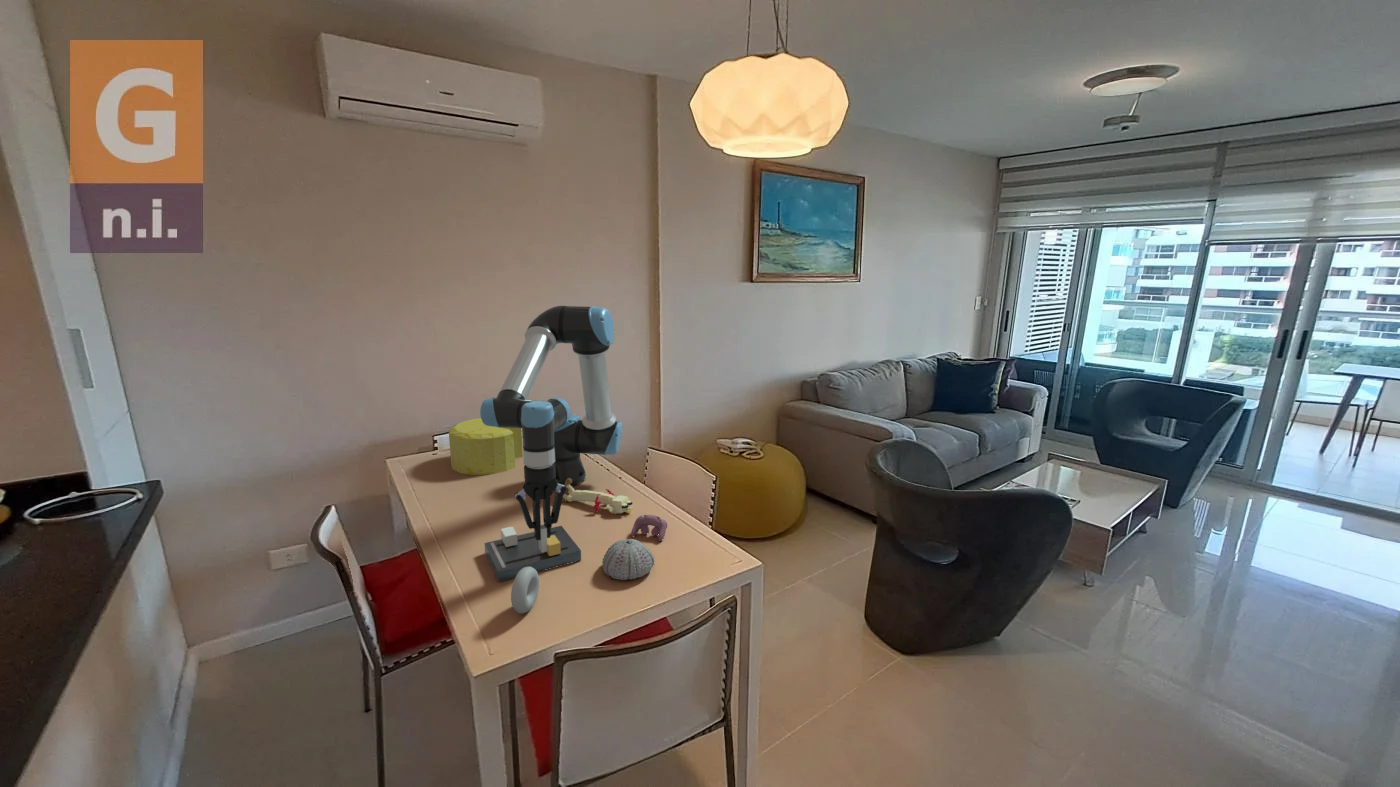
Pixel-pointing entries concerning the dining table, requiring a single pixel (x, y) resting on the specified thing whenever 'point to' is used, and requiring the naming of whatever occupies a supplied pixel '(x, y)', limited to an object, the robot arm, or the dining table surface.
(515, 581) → the donut
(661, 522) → the purple arched piece
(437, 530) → the dining table surface
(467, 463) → the cheese
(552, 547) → the amber block
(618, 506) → the cream elongated figure
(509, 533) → the block
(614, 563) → the sea urchin shell
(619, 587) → the dining table surface
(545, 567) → the fader console
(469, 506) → the dining table surface
